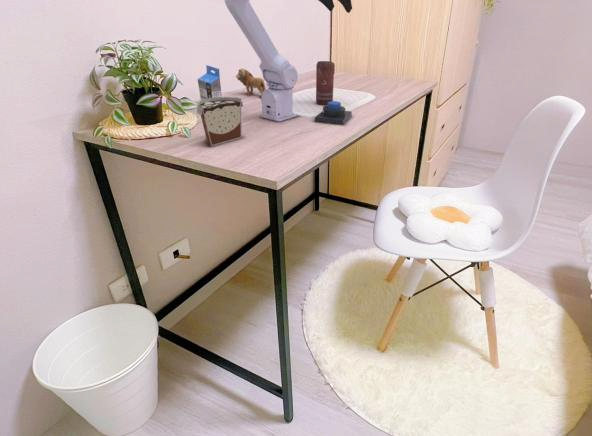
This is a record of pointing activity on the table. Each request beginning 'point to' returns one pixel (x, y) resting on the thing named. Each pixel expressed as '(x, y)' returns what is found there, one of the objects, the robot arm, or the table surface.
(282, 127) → the table surface
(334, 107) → the blue button cap
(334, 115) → the button base
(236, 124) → the food container
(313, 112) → the table surface
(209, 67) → the tape cartridge
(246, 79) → the lion figurine
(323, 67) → the can
